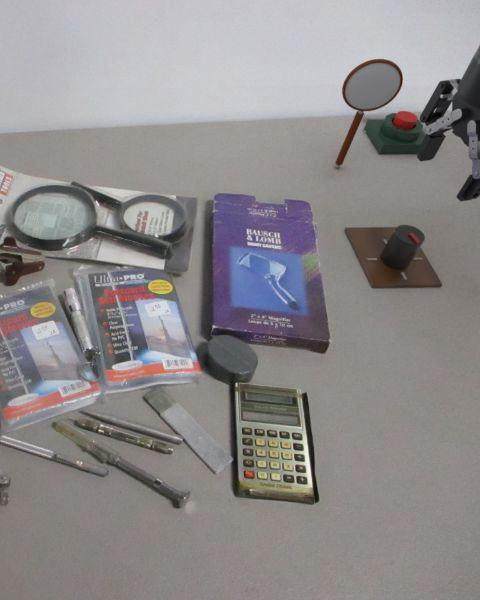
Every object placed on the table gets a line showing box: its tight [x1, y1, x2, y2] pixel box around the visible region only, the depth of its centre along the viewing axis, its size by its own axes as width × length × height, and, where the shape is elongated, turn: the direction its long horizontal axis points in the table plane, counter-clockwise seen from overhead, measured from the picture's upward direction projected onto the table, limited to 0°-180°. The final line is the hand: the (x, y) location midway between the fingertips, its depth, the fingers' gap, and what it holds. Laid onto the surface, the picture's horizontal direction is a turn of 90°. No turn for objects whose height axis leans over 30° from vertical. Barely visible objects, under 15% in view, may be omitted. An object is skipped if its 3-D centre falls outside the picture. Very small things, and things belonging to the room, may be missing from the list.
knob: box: [381, 224, 426, 269], centre depth 85 cm, size 4×4×5 cm
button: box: [393, 110, 419, 130], centre depth 107 cm, size 4×4×2 cm
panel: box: [343, 226, 443, 289], centre depth 88 cm, size 10×12×3 cm
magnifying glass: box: [334, 58, 404, 169], centre depth 97 cm, size 9×2×20 cm, turn 81°
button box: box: [363, 112, 426, 155], centre depth 109 cm, size 9×8×4 cm
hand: (443, 178), depth 78 cm, fingers open, 8 cm apart
